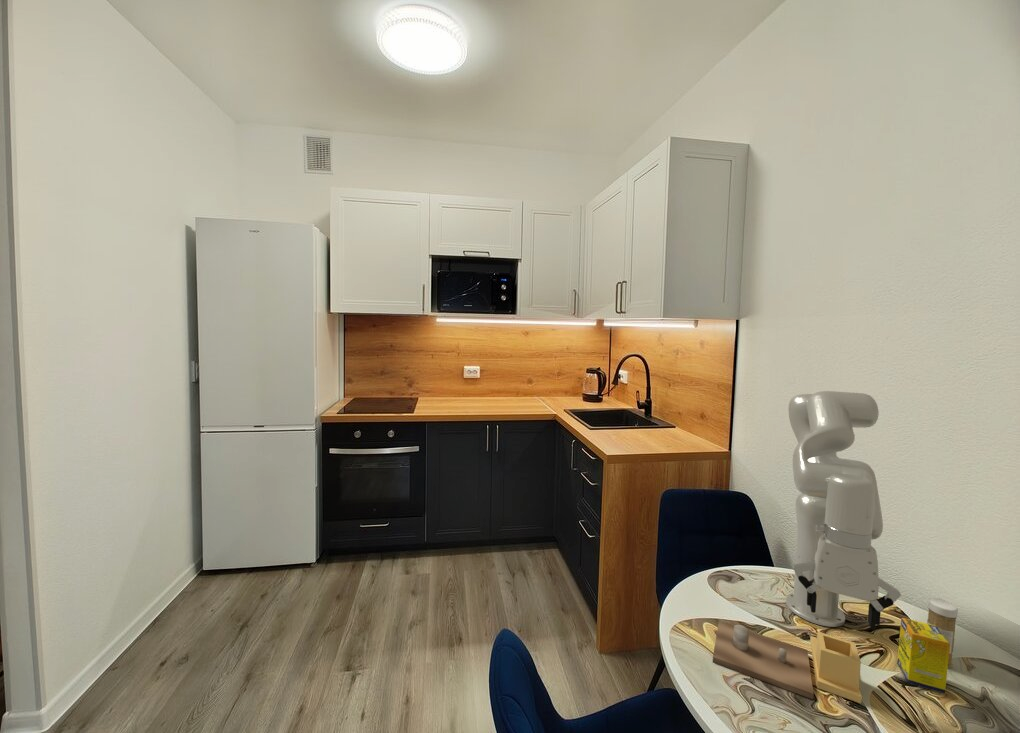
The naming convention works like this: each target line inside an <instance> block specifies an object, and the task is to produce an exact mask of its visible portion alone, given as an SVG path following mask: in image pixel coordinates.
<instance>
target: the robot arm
mask: <svg viewBox="0 0 1020 733" xmlns="http://www.w3.org/2000/svg"><path fill="white" fill-rule="evenodd" d="M879 414H880V412H879V407H878V403H877V401H876V400H875V398H874V397H872V396H871V395H869V394H868V393H860V392H850V391H849V392H848V391H847V392H846V391H835V390H833V391H832V390H831V391H830V390H823V391H818V392H814V393H803V394H798V395H797V394H796V395H795V396H793V397H791V399H790V400H789V403H788V418H789V422H790V423H789V424H790V426H791V429H792V431H793V434H794V436H795V438H796V440H797V445H796V447H795V448H794V450H793V455H792V471H793V480H794V485H795V487H796V489H797V491H799V492H800V494H798V495H797V497H796V499H795V514H796V524H797V525H796V527H797V536H796V554H795V555H796V556H795V564H793V566H792V568H793V571H794V580H793V581H794V582H793V583H794V584H793V592H792V593H790V594H787V596H786V598H785V604H786V607H787V608H788V609H789V611H791V612H792V613H793V614H795V615H796V616H798V617H800V618H801V619H803V620H805V621H807V622H810V623H813V624H815V625H819V626H823V627H829V628H831V627H832V628H837V627H841V626H843V625H844V624H845V623H846V615H845V613H844V611H842V610H841V608H839V602H840V601H839V600H840V595H842V596H845V597H850V598H853V599H856V600H861V601H865V602H869V603H868V611H867V612H868V614H867V622H868V625H869V628H870V629H871V630H872V631H876V629H877V626H880V625H881V624H880V623H881V613H882V612H884V610H885V609H887V608H889V607H892V606H893V605H894V604H895V602H897V600H899V598H901V595H902V594H901V592H900V590H899V589H898V588H896V587H895V586H893V585H892V584H890V583H888V582H887V581H885V580H884V579H883V578H881V577H879V561H878V554H877V550H876V549H875V547H873V546H872V541H873V540H877V539H879V538H880V537H881V536H882V534H883V530H884V529H883V528H884V522H883V515H882V508H881V501H880V496H879V488H878V483H877V478H876V474H875V471H874V470H873V468H872V467H871V466H870V465H869V464H868V463H867V462H864V461H860V460H857V459H856V460H855V459H854V460H853V459H849V458H848V459H847V458H841V457H838V455H837V453H838V452H842V451H845V450H847V449H848V448H850V447H851V446H853V444H854V442H855V438H856V437H855V436H856V435H855V432H854V429H853V428H858V429H860V428H862V429H863V428H864V429H865V428H871V427H873V426H875V424H876V423H877V422H878V419H879ZM879 587H880V588H881V589H883V590H884V591H886V592H887V593H886V595H883V596H881V597H879Z"/></svg>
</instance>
